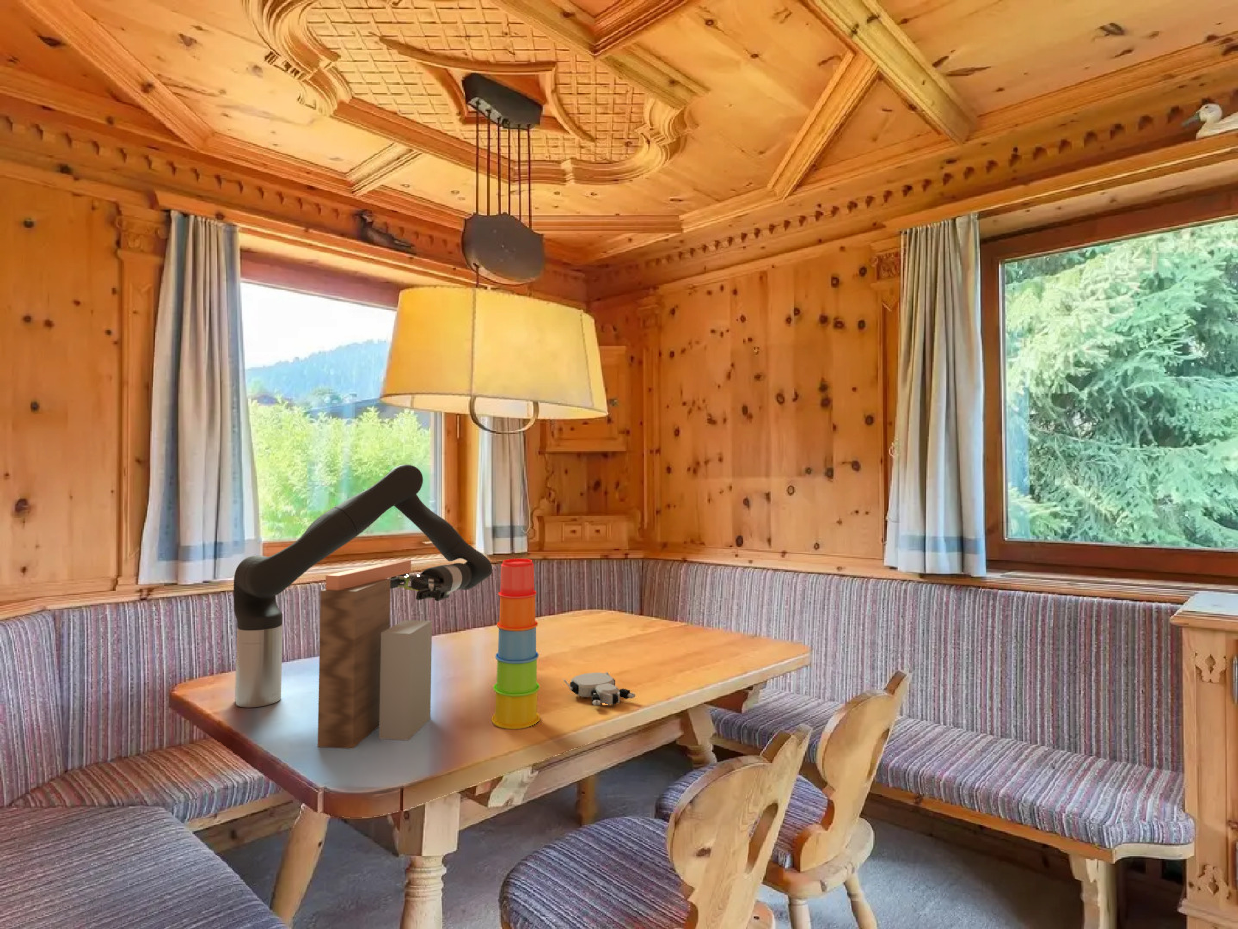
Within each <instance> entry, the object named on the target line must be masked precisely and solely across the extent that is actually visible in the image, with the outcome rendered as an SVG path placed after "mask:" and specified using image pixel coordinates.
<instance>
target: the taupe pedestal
mask: <svg viewBox="0 0 1238 929" xmlns="http://www.w3.org/2000/svg"><path fill="white" fill-rule="evenodd" d="M432 632H433V621H432V620H419V619H418V620H416V619H415V620H413V619H405V620H402V621H400V622H399V623H397V624H395V625H393V626H391V627H390V628H389V629H387V630H385V631H383V632H382V633H381V665H380V722H379V727H378V728H379V731H378V734H379V735H378V736H379V737H378V739H379V740H394V741H395V740H396V741H397V740H398V741H409V740H411V738H412V737H413V736H415V735H416V733H418V731H420V729H422V727H423V726H424V725H425V724H427V723H428V722H429V721H430V719H431V708H432V706H431V704H432V701H431V700H432V699H431V698H432V687H431V686H432V646H433V645H432V644H433V643H432V639H433V633H432Z"/></svg>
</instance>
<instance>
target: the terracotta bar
mask: <svg viewBox="0 0 1238 929" xmlns="http://www.w3.org/2000/svg"><path fill="white" fill-rule="evenodd" d="M406 573H409V574H411V573H412V560H411V559H398V560H392V561H387V562H384V563H383V562H382V563H378V564H373V565H369V566H364V567H360V568H355V569H350V570H345V571H339V572H335V573H330V574H326V575H325V589H326V590H342V589H346V588H350V587H354V586H358V585H362V584H366V583H370V582H374V581H378V580H382V579H391V577H394V576H398V575H402V574H406Z"/></svg>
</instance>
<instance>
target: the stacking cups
mask: <svg viewBox="0 0 1238 929" xmlns="http://www.w3.org/2000/svg"><path fill="white" fill-rule="evenodd" d="M497 593H498V594H497V595H498V596H499V598H500V599H499V621H498V622H497V624H496V627H497V628H498V643H497V644H498V645H497V653H496V654H495V659H496V661H497V662H496V663H497V664H496V683H495V684H494V685H493V688H492V689H493V692H494V693H495V706H494V708H495V710H494V711H495V712H494V714H493V715H492V717H491V723H492V724H493V725H494V726H496V727H498V728H501V729H504V728H505V730H522V729H521V728H523V729H528V728H530V727H529V726H531V727H533V726H535V725H536V723H537V722H538V721H539V722H540V720H541V716H540V714H539V713H538V708H537V707H538V692H539V690H540V687H541V686H540V684H539V683H538V682H537V679H538V678H537V673H538V672H537V670H538V669H537V668H538V661H537V659H538V658H539V655H540V654H539V652H537V627H538V624H539V623H538V621H536V595H537V591H536V590H535V564H534V562H533V560H532V559H530V558H520V557H519V558H518V557H517V558H508V559H507V558H506V559H504V560H502V563H501V565H500V591H499V592H497ZM539 722H538V723H539ZM538 723H537V724H538ZM534 724H535V725H534ZM532 725H533V726H532ZM527 727H528V728H527Z"/></svg>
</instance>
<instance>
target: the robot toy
mask: <svg viewBox="0 0 1238 929" xmlns="http://www.w3.org/2000/svg"><path fill="white" fill-rule="evenodd" d="M563 682H564V683H565V684H566V685H567V687H568V688H569V690H570V691H571V692H572V693H574V694H575V695H577V696H578V697H579V696H581V697H586V698H591V704H592V705H594V706H601V704H600V703H605V704H608V705H607V706H610V705H609V704H612V705H616V704H617V703H618V704H620V703H621V702H620V701H621V700H620V699H621V698H622V699H625V700H627V699H628V700H629V699H634V698H635V697H636V694H635V693H634V692H631V690H629V689H627V688H619V687H618V686H616V679H615V678H613V677H612V676H611V675H610V674H609V672H608V671H605V672H587V673H582V674H579V675H576V676H574V677H572V678H571V680H570V682H569V683H568V681H567V680H566V679H565V678H563ZM581 697H580V698H581ZM619 702H620V703H619Z"/></svg>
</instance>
